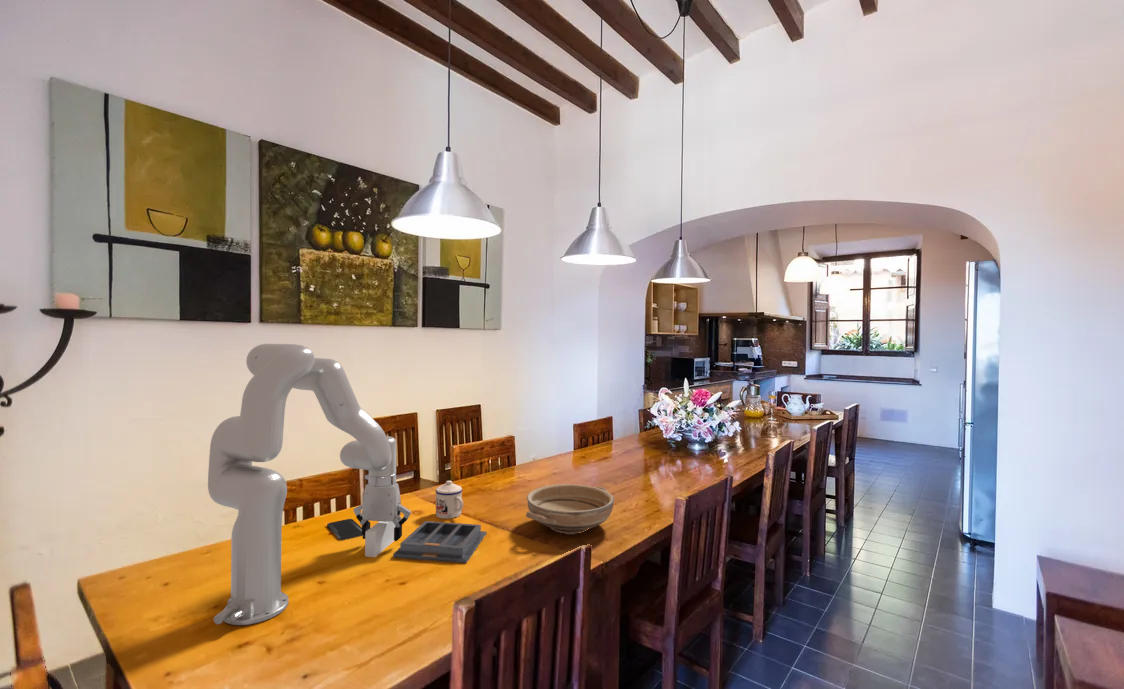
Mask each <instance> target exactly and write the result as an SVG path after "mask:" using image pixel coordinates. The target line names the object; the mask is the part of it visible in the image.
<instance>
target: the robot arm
mask: <svg viewBox="0 0 1124 689" xmlns="http://www.w3.org/2000/svg"><path fill="white" fill-rule="evenodd" d="M245 360H246V361H245V362H246V367H247V369H248V370H249V372H250V373H251V374H252V375H253V376H252V377H251V378H250V380H249V381H248V383H247V384H246V387H245V389H244V391H243V394H242V397H241V399H242V400H241V407H240V414H239V415H236V416H231V417H229V418H227V419H224V420H223V421H222V422H221V423H219V425H217V426H216V428H215V430H214V432H213V434H212V437H211V439H210V444H209V455H208V456H209V457H208V472H207V473H208V475H207V490H208V495H209V496H210V498H211V500H212V501H213V502H215V503H216V504H218V505H220V506H223V507H226V508H232V509H235V510H237V512H238V513H237V517H236V519H235V521H234V523H233V527H232V530H231V536H230V537H231V538H230V539H231V541H230V542H231V543H230V545H231V547H230V548H231V551H230V553H231V554H230V556H231V558H230V560H231V562H230V563H231V564H230V565H231V566H230V570H231V571H230V597H229V599H227V604H226V606H225V607H224V608H223V609H222V611H220V612H219V613H218V614H216V615H214V617H213V622H214V624H216V625H221V624H222V623H225V624H226V623H227V624H228V625H231V626H248V625H253V624H258V623H261V622H264V621H267V620H269V619H272V618H274V617H276V616H277V615H279V614H281V613H282V612H283V611H285V609H286V608H287V607H288V605H289V602H290V601H289V596H288V594H286V593H285V592H282V540H283V538H282V528H283V527H282V526H283V514H284V513H283V511H284V506H285V503H286V498H287V495H288V494H287V493H288V485H287V481H286V479H285V477H284V476H283V475H282V474H281V473H280V472H278V471H276V470H274V469H272V468H268V467H262V466H258V465H253V462H254V463H265V462H266V463H267V462H270V461H272V460H274V459H276V458H277V457H278V455H279V454H280V453H281V451H282V447H283V442H284V441H283V440H284V426H285V414H286V413H285V412H286V403H287V399H288V396H289V394H290V393H291V390H292V389H296V390H302V391H304V390H305V391H311V392H313V393H314V395H315V398H316V399H317V401H318V404H319V406H320V408H321V410H322V411H323V414H324V417H325V418H326V420H327V422H328V423H329V424H331V425H333V426H334V427H335V428H338V430H341V431H342V432H345V433H346V434H348V435H350V436H351V437H353V438H354V439H355V440H352V441H349V442H347V443H346V444H344V446H343V447H342V448H341V450H340V452H339V458H340V462H341V463H342V464H343V465H344V466H346V467H347V468H351V469H356V470H357V469H358V470H364V471H365V470H366V471H368V474H365V475H364V480H367V484H365V488H364V491H363V496H362V497H363V498H362V504H360V505H358V506H356V507H354V508H353V513H354V515H355V517H356V519H357V520H358V522H359V524H360V526H361V528H362V535H363V536H362V539H363V540H365V532H366V531H367V530H369V529H370V528H371V521H373V522H379V521H384V522H391V521H392V522H393V523H394V524H395V526H396V527H395V528H394V541H393V542H398V541H399V539H401V537H402V536H403V524H405V523H406V522H407V521H408V519H409V518H410V516H411V514H412V511H411V510H410V509H409V508H407V507H405V506H404V505H403V504H402V503H401V502H402V500H401V493H400V486H399V483H398V482H397V439H396V438H395V437H393V436H388V435H387V434H386V433H385V430H383V428H382V426H380V424H379V423H378V422H377V421H376V420H374V418H373V417H372V416H371V415H370V414H369V413H368V412H366V411H365V410H364V409H363V408H362V407H361V406H360V404H359V402H358V400H357V398H356V394H355V393H354V390H353V388H352V385H351V383H350V381H349V379H348V377H347V374H346V372H345V370H344V367H343V365H342V364H341V363H340V362H339V361H338V360H335V359H330V358H325V357H324V358H322V357H321V358H320V357H315V354H314V352H313V351H312V350H311V349H310V348H309V347H308V346H304V345H301V344H293V343H261V344H258V345H256V346H254V347H253V348H252V349H251V350H249V352H248V353H247V356H246V359H245ZM401 513H402V514H403V517H401Z"/></svg>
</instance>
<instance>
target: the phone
mask: <svg viewBox="0 0 1124 689" xmlns="http://www.w3.org/2000/svg"><path fill="white" fill-rule="evenodd" d="M327 526H328V527H327ZM326 527H327V528H328V529H329V531H330V532H331V533H332V532H333V533H334V534H335V535H336V536H337V537H336V536H335V535H334V536H335V537H336V539H338V540H339V539H340V540H339V541H345V539H346V540H349V539H354V538H358V537H363V535H362V526H361V525H359V524H358V523H357V522H356V521H355V520H354V519H352V518H346V519H342V520H336V521H331V522H328V523H327V524H326ZM333 533H332V534H333Z"/></svg>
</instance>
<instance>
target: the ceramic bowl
mask: <svg viewBox="0 0 1124 689" xmlns="http://www.w3.org/2000/svg"><path fill="white" fill-rule="evenodd" d="M526 500H527V508H528V511H527V512H526V513H525V516H526V518H527V519H532V520H534V521H537V522H538V523H540V524H541V525H544V526H545V527H548V528H549V527H550V529H551V530H552V531H553V530H554V531H553V532H555V531H556V532H555V533H558V532H559V534H562V533H565V534H564V535H575V534H574V533H579V532H583V531H585V530H587V529H588V528H589V529H592V528H595V527H597V526H600V525H601V524H603V523H605V522H606V521H607V519H609V517H610V516H611V514H612V512H613V510H614V502H615V497H614V496H613V494H611V493H610V492H609V491H608V490H607V489H606V488H605V487H602V486H591V485H584V484H577V483H576V484H573V483H572V484H571V483H566V484H565V483H563V484H562V483H560V484H551V485H545V486H540V487H538V488H535V489H533V490H531V491H530V492H529V493H528V494H527V496H526Z"/></svg>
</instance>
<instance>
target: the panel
mask: <svg viewBox="0 0 1124 689" xmlns="http://www.w3.org/2000/svg"><path fill="white" fill-rule="evenodd" d="M395 527H396V526H395V524H394V523H393V522H392V521H391V522H384V521H377V523H375V524H374V525H372V526H370V529H369V530H367V531H366V532H365V539H364V540H365V541H364V542H365V543H364V544H365V545H364V556H365V557H368V558H375V557H377V556H378V555H380V554H381V553H382V552H383V551H384V550H385V549H386V548H388V546H390V545H391V544H392V543H393V542H395V541H394V528H395Z"/></svg>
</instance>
